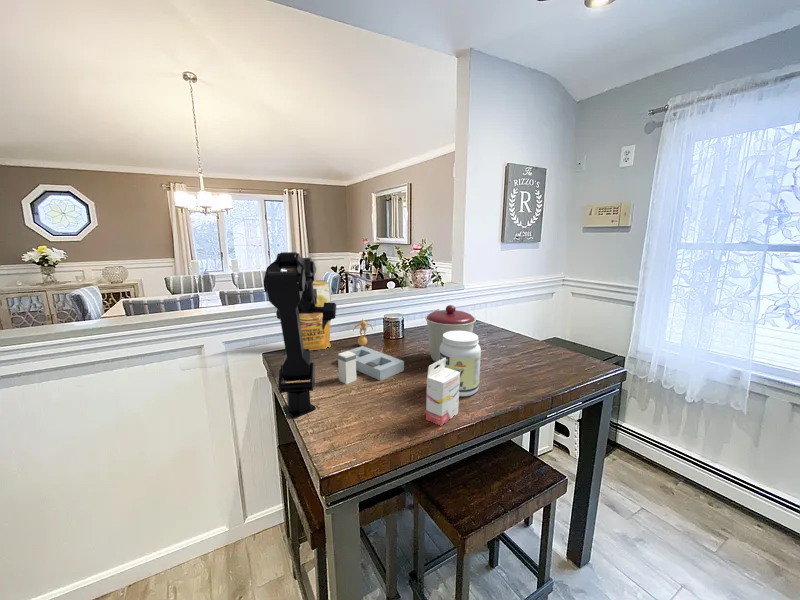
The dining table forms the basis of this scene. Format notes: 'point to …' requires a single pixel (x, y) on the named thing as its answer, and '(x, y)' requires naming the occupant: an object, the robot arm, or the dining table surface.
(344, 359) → the plug
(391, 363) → the socket block
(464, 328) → the canister
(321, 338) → the pancake mix bag
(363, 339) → the figurine
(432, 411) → the ink cartridge box
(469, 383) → the supplement tub
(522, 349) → the dining table surface
